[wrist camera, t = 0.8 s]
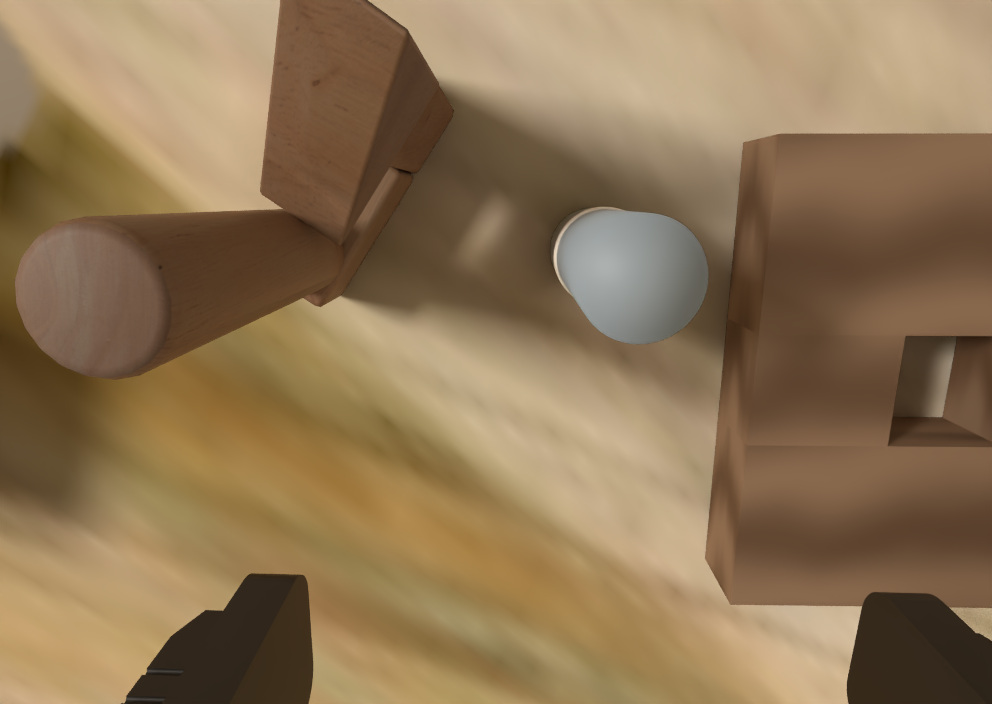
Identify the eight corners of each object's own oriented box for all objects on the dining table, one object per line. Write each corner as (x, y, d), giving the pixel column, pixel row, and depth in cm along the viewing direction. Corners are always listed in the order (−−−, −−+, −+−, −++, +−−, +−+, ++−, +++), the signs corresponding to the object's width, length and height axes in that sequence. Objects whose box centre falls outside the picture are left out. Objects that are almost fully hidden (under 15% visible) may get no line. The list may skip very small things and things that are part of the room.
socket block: (743, 142, 29) (779, 133, 25) (1132, 142, 29) (1229, 133, 25) (705, 558, 34) (730, 604, 30) (1033, 562, 34) (1101, 609, 30)
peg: (548, 205, 30) (574, 209, 18) (635, 205, 30) (717, 209, 18) (546, 291, 31) (570, 347, 19) (631, 292, 31) (705, 347, 19)
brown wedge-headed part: (457, 111, 29) (382, -25, 12) (341, 298, 31) (129, 422, 14) (391, 64, 29) (208, -152, 11) (277, 257, 31) (-24, 331, 13)
